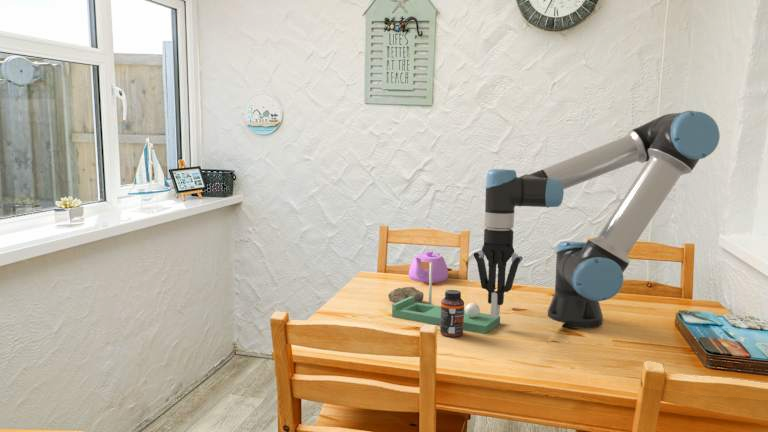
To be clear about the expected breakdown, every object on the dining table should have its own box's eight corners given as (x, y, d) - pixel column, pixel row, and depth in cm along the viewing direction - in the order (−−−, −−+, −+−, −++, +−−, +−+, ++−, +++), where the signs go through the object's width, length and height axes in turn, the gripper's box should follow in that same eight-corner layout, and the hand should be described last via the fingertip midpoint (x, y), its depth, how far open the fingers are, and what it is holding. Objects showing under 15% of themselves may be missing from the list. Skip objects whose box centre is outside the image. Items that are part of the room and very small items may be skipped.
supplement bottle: (457, 339, 148) (458, 295, 147) (436, 335, 151) (437, 292, 150) (466, 333, 153) (468, 290, 152) (446, 329, 156) (447, 287, 155)
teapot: (398, 285, 205) (398, 254, 204) (422, 274, 223) (422, 245, 221) (433, 290, 199) (434, 258, 197) (455, 279, 216) (456, 249, 215)
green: (499, 323, 162) (500, 310, 162) (485, 333, 153) (485, 320, 153) (410, 307, 177) (410, 296, 176) (392, 316, 167) (392, 304, 167)
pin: (436, 309, 175) (437, 262, 173) (432, 312, 172) (433, 264, 171) (422, 307, 177) (423, 260, 176) (417, 309, 175) (419, 262, 173)
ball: (481, 316, 161) (482, 302, 161) (476, 320, 158) (476, 305, 157) (468, 314, 163) (468, 300, 163) (462, 318, 160) (462, 303, 159)
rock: (384, 303, 180) (384, 288, 179) (408, 297, 188) (408, 283, 187) (403, 308, 175) (403, 293, 174) (426, 302, 183) (427, 288, 182)
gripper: (527, 229, 154) (523, 316, 157) (480, 224, 161) (477, 309, 163) (518, 232, 148) (514, 323, 150) (470, 227, 154) (466, 315, 157)
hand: (495, 315), depth 157 cm, fingers closed
